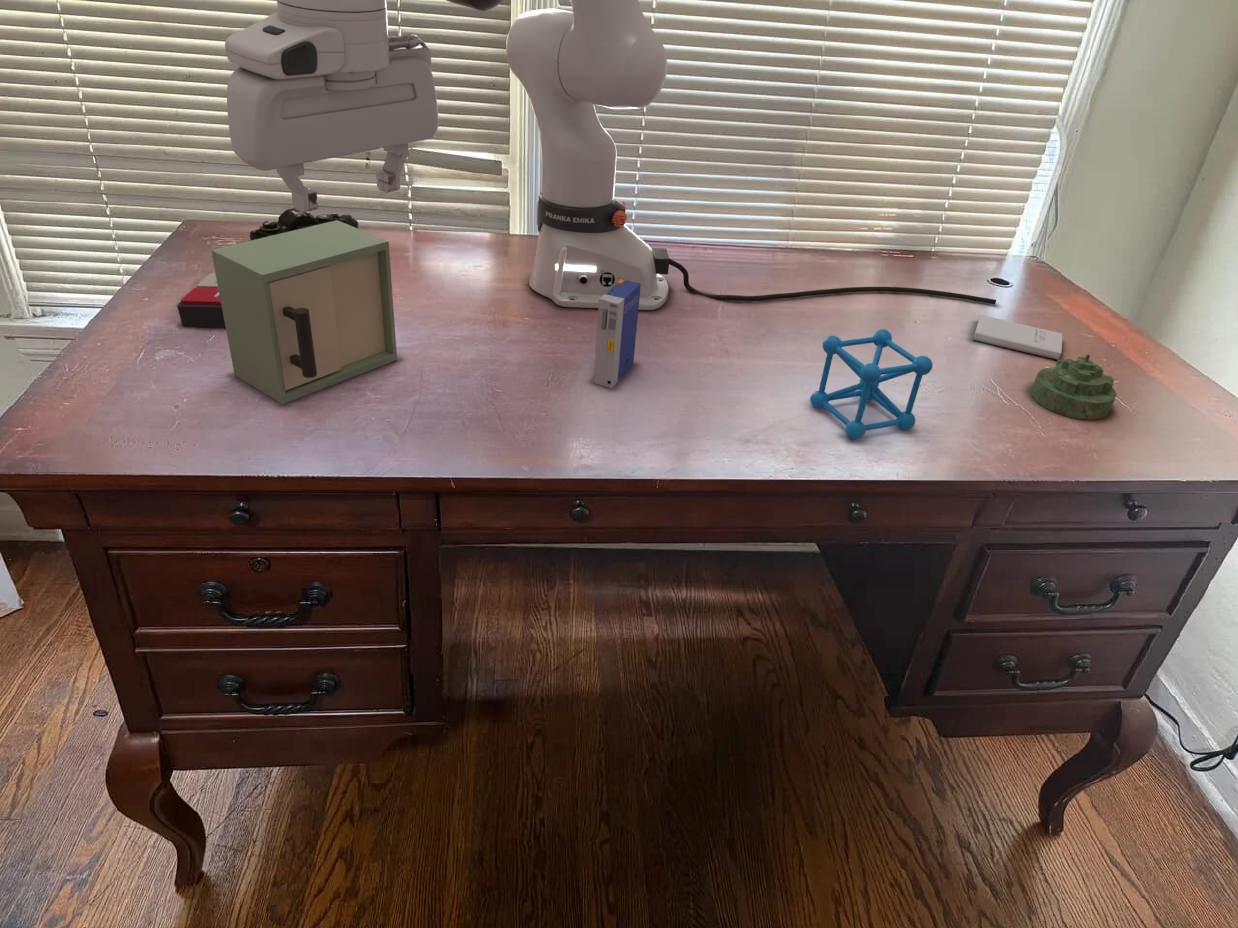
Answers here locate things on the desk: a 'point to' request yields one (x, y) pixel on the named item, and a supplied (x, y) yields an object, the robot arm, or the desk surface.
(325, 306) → the door
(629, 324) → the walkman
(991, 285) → the desk surface
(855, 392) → the molecular structure
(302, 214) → the film camera
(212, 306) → the red and black box
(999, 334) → the hard drive
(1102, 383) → the decorative artifact
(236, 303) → the cabinet
